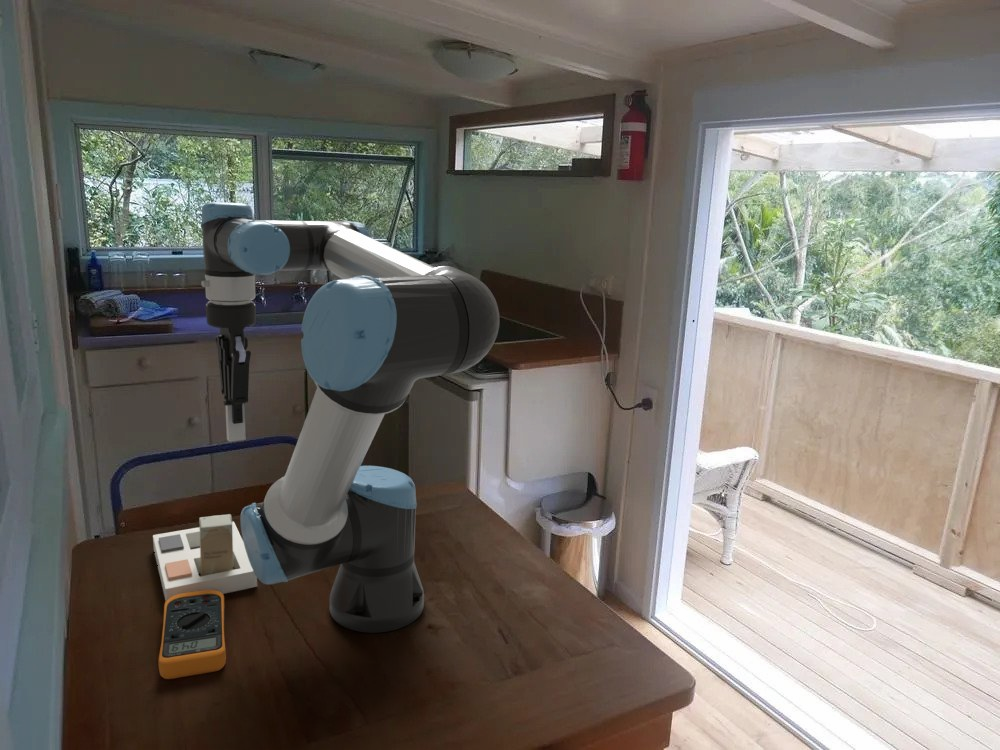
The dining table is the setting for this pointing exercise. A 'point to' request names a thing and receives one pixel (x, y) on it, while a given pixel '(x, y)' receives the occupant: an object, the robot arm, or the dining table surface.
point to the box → (216, 544)
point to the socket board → (198, 564)
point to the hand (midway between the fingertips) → (236, 439)
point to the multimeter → (192, 634)
